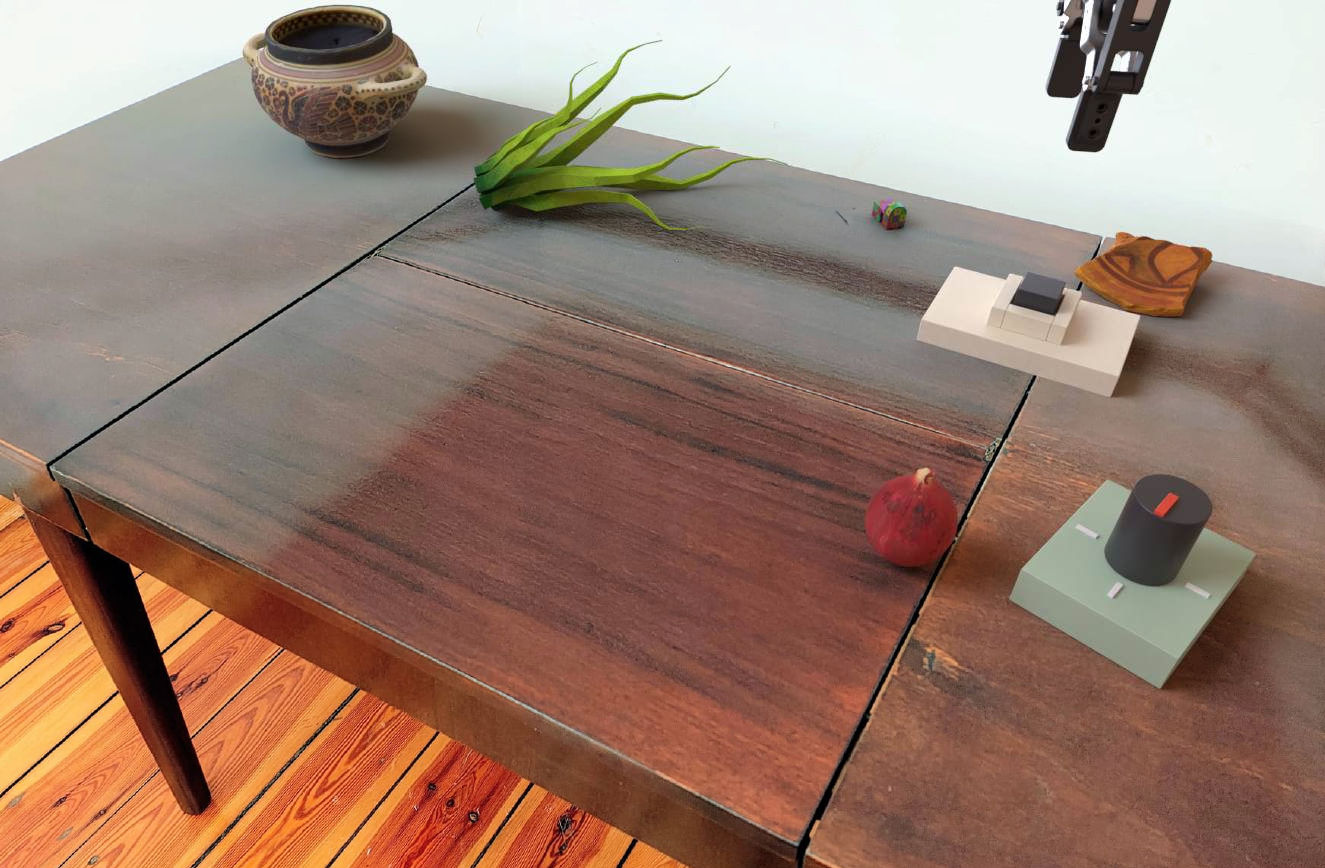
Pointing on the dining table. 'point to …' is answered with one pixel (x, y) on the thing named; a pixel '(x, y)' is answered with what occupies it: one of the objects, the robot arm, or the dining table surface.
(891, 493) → the pomegranate
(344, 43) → the ceramic bowl
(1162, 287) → the pottery fragment
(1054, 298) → the dark grey square block
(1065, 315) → the stepped cream pedestal
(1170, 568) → the volume knob
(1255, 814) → the dining table surface
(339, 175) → the dining table surface
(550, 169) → the decorative plant
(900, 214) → the multicoloured toy piece
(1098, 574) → the panel
